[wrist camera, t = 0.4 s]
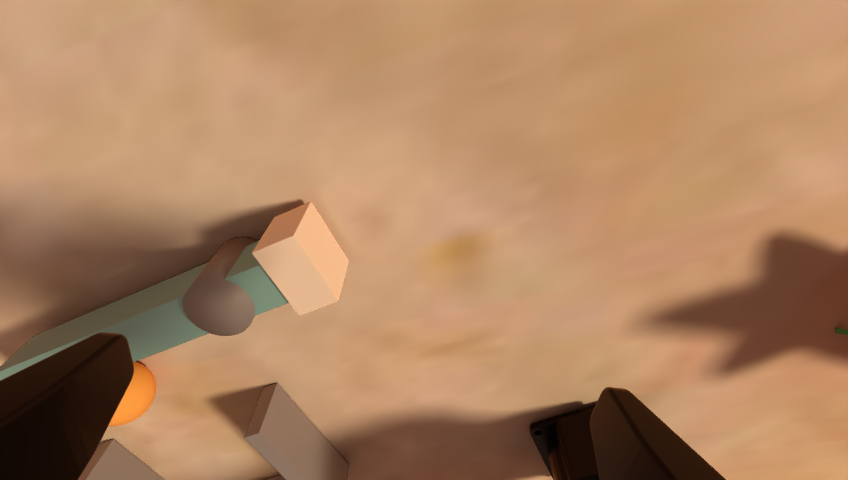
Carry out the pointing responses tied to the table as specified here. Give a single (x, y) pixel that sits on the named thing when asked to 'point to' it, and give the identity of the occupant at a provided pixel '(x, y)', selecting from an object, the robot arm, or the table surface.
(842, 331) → the lily
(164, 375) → the table surface
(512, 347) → the table surface
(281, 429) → the pocket
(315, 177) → the table surface
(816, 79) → the table surface
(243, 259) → the lever
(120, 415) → the ball
